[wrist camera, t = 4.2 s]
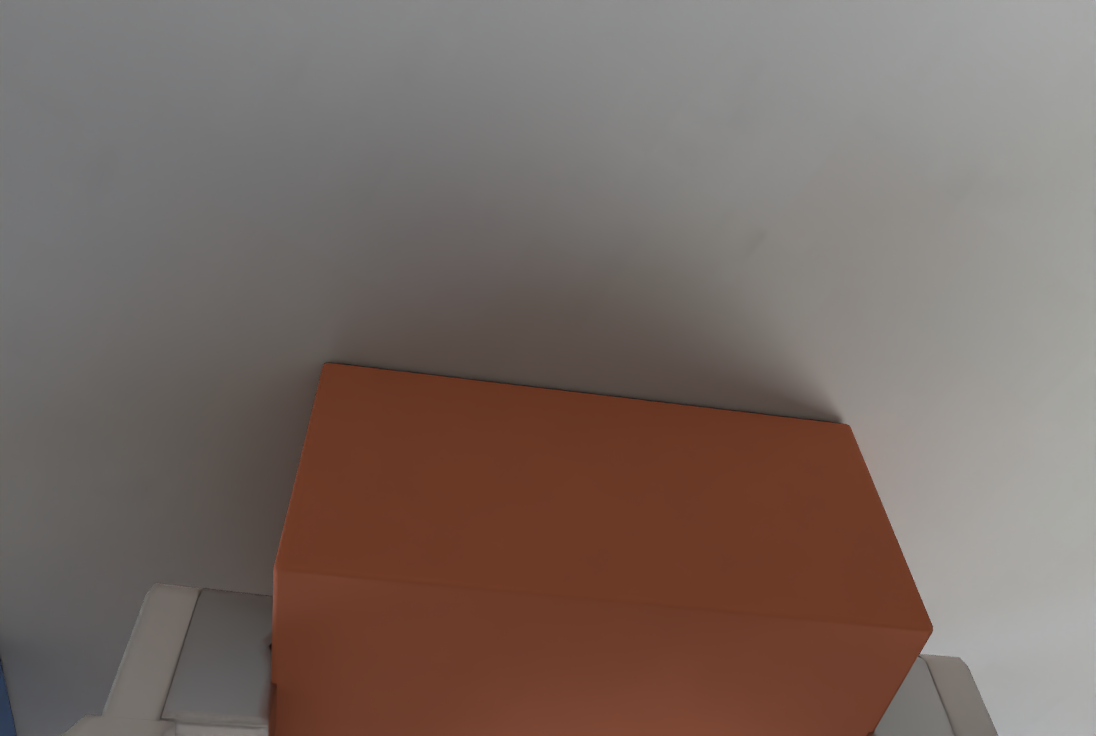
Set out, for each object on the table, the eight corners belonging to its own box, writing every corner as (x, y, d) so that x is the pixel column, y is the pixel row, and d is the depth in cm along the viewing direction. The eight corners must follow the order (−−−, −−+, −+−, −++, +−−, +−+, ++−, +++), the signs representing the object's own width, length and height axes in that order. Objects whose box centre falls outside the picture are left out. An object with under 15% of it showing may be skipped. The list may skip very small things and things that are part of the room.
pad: (850, 422, 12) (935, 628, 10) (732, 691, 15) (776, 901, 12) (323, 360, 11) (272, 567, 9) (306, 655, 14) (265, 872, 12)
